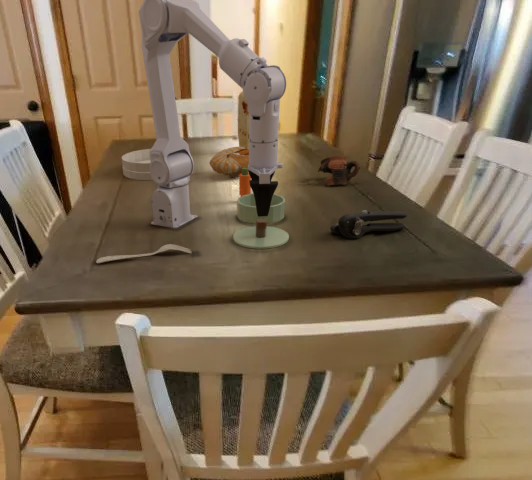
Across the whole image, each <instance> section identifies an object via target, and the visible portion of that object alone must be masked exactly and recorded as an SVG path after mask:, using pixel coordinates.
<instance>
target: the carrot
mask: <svg viewBox="0 0 532 480" xmlns="http://www.w3.org/2000/svg"><path fill="white" fill-rule="evenodd" d="M238 180H239V181H238V183H239V184H238V187H239V190H238V191H239V193H238V194H239V197H241V196H243V195H247V194H252V193H251V191H252V189H251V187H250V183H249V181H250V180H251V177H250V175H249V173H248V168H242V174H239V176H238Z"/></svg>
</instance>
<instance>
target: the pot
mask: <svg viewBox="0 0 532 480" xmlns="http://www.w3.org/2000/svg"><path fill="white" fill-rule="evenodd" d="M285 212H286V198H285V197H284V196H283V195H281V194H277V193H274V194H273V197H272V200H271V205H270V210H269V214H268V216H262V217H258V215H257V210H256V203H255V197H254V194H253V192H252V193H251V194H247V195H243V196H241V197H240V196H239V197H238V198H237V200H236V217H237V219H238V220H239V221H241V222H245V223H249V224H253V225H256V220H258V219H265V220H267V224H274V223H277V222H279V221H281V220H283V219H284V218H285V214H286V213H285Z"/></svg>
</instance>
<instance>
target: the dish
mask: <svg viewBox="0 0 532 480" xmlns="http://www.w3.org/2000/svg"><path fill="white" fill-rule="evenodd" d="M150 150H151V148H146V149H138V150H134V151H130V152H127V153H125V154H123V155H122V156H121V162H122V167H121V168H122V174H123V176H124V177H125V178H128V179H130V180H136V181H154V180H153V179H152V177H151V174H150V168H149V167H150ZM172 153H173V152H172ZM169 154H170V153H169Z"/></svg>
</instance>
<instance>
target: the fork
mask: <svg viewBox="0 0 532 480" xmlns="http://www.w3.org/2000/svg"><path fill="white" fill-rule="evenodd" d="M169 250H175V251H179V252H184V253H188V254H191V255H192V252H191V249H190V248H187V247H185V246H181V245H178V244H173V243H168V244H164V245H162V246H161V247H159V249H158V250H156V251H153V252H149V253H141V254H139V253H138V254H122V255H107V256H103V257H99V258H98V259H96V264H103V263H107V262H113V261H119V260H125V259H133V258H142V257H150V256H154V255H157V254H159V253H163V252H166V251H169Z"/></svg>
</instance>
